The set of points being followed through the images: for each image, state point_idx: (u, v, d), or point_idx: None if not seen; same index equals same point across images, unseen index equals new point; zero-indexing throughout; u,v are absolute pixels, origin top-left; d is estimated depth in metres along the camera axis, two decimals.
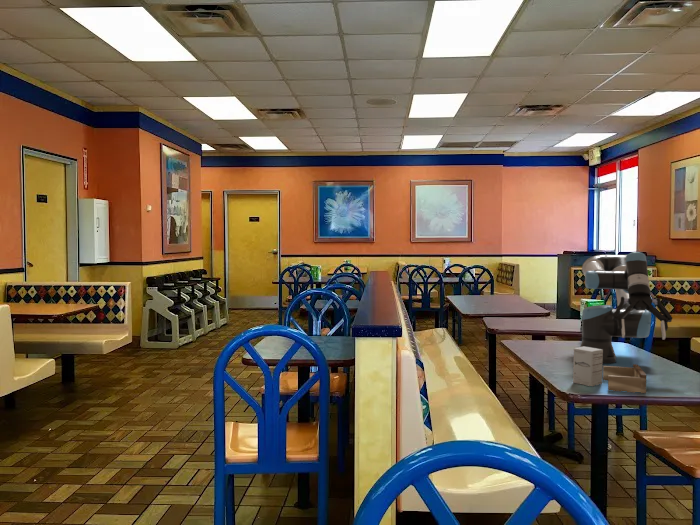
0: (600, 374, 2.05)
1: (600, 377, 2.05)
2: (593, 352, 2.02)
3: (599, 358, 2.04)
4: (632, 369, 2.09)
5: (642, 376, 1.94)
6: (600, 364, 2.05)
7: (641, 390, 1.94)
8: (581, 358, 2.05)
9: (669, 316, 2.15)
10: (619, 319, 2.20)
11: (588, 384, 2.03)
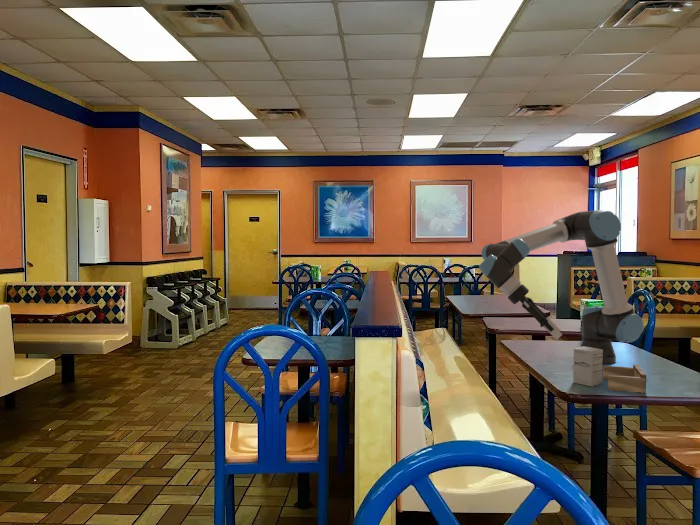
0: (600, 374, 2.05)
1: (600, 377, 2.05)
2: (593, 352, 2.02)
3: (599, 358, 2.04)
4: (632, 369, 2.09)
5: (642, 376, 1.94)
6: (600, 364, 2.05)
7: (641, 390, 1.94)
8: (581, 358, 2.05)
9: None
10: None
11: (588, 384, 2.03)
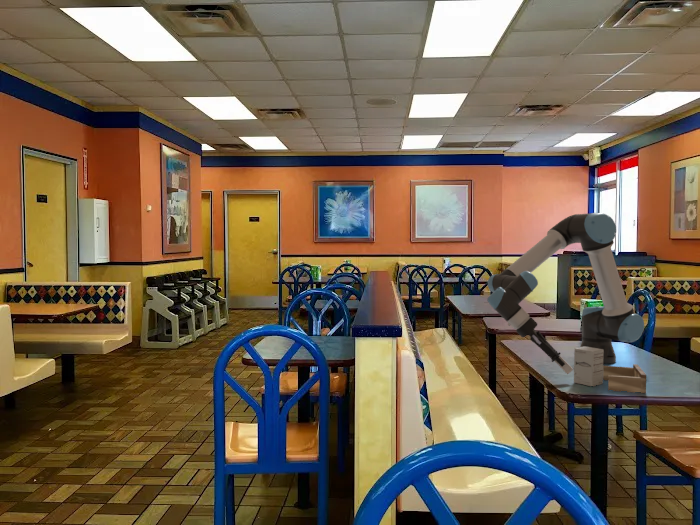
0: (601, 374, 2.05)
1: (600, 377, 2.05)
2: (594, 352, 2.02)
3: (599, 358, 2.04)
4: (632, 369, 2.09)
5: (642, 376, 1.94)
6: (601, 364, 2.05)
7: (641, 390, 1.94)
8: (582, 358, 2.05)
9: (550, 357, 2.07)
10: None
11: (589, 384, 2.03)
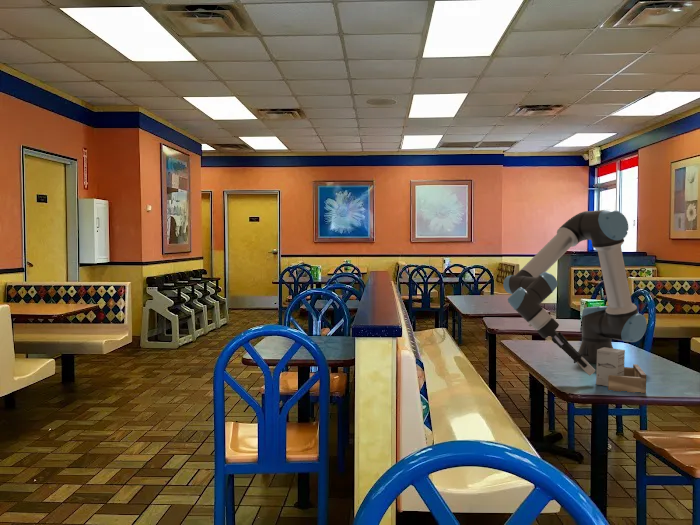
0: (622, 375, 2.04)
1: None
2: (618, 353, 2.00)
3: (622, 359, 2.03)
4: (632, 369, 2.09)
5: (642, 376, 1.94)
6: (623, 365, 2.04)
7: (641, 390, 1.94)
8: (605, 359, 2.02)
9: None
10: None
11: None
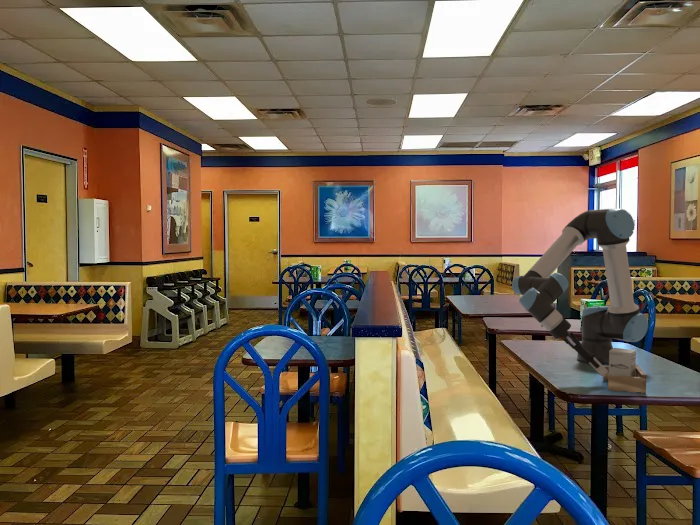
0: (634, 375, 2.03)
1: None
2: (631, 353, 1.99)
3: (634, 360, 2.02)
4: None
5: (642, 376, 1.94)
6: (634, 365, 2.03)
7: (641, 390, 1.94)
8: (618, 360, 2.01)
9: (585, 359, 2.04)
10: None
11: None
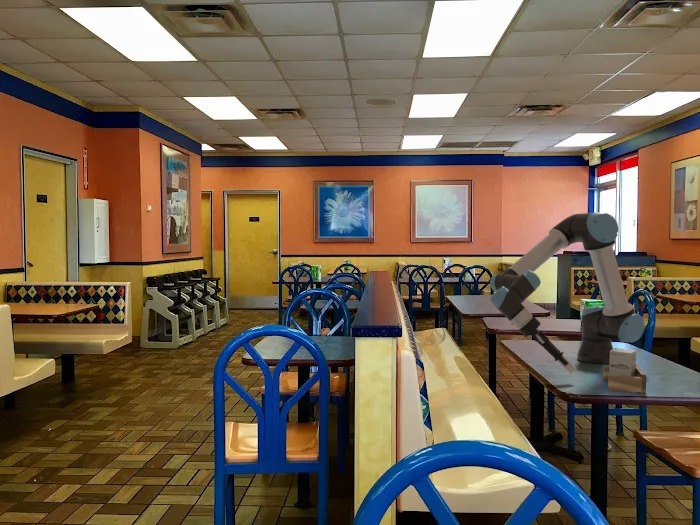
0: (635, 375, 2.03)
1: None
2: (632, 354, 1.99)
3: (634, 360, 2.02)
4: None
5: (642, 376, 1.94)
6: (635, 365, 2.03)
7: (641, 390, 1.94)
8: (618, 360, 2.01)
9: None
10: None
11: None
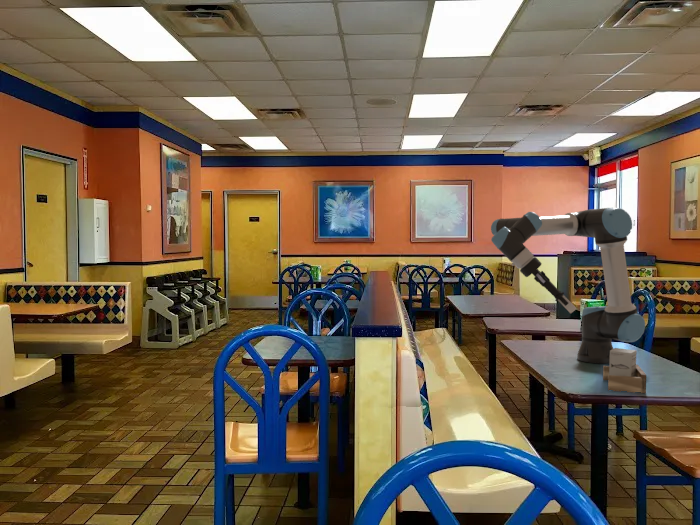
0: (635, 375, 2.03)
1: None
2: (632, 354, 1.99)
3: (634, 360, 2.02)
4: None
5: (642, 376, 1.94)
6: (635, 365, 2.03)
7: (641, 390, 1.94)
8: (618, 360, 2.01)
9: (554, 296, 2.06)
10: None
11: None
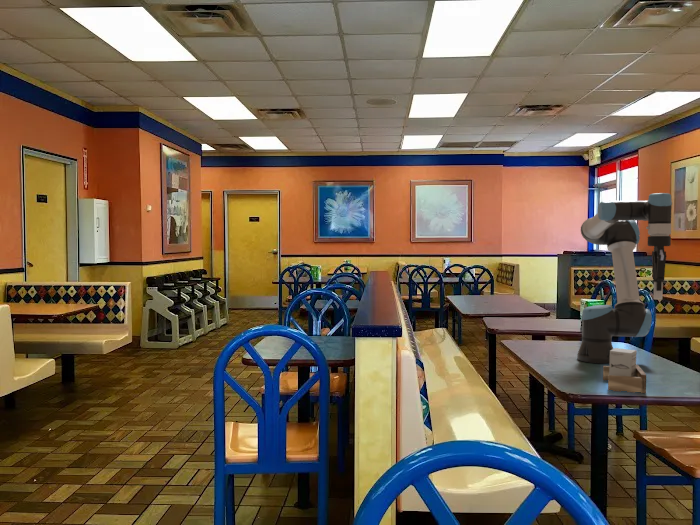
0: (635, 375, 2.03)
1: None
2: (632, 354, 1.99)
3: (634, 360, 2.02)
4: None
5: (642, 376, 1.94)
6: (635, 365, 2.03)
7: (641, 390, 1.94)
8: (618, 360, 2.01)
9: (656, 277, 2.10)
10: None
11: None
